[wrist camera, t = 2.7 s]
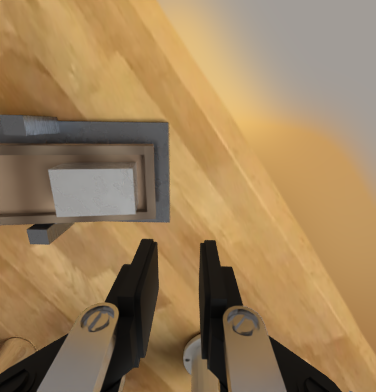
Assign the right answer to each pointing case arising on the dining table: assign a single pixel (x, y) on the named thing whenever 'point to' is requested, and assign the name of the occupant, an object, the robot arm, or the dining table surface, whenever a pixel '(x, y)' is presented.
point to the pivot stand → (92, 134)
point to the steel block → (94, 188)
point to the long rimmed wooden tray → (41, 187)
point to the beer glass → (14, 352)
